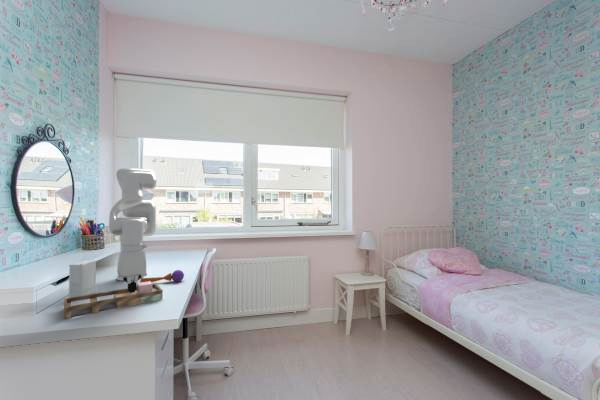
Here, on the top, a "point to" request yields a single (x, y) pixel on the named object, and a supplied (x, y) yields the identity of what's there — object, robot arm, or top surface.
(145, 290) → the rose block
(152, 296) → the box
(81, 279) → the skincare box
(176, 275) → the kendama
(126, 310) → the top surface
